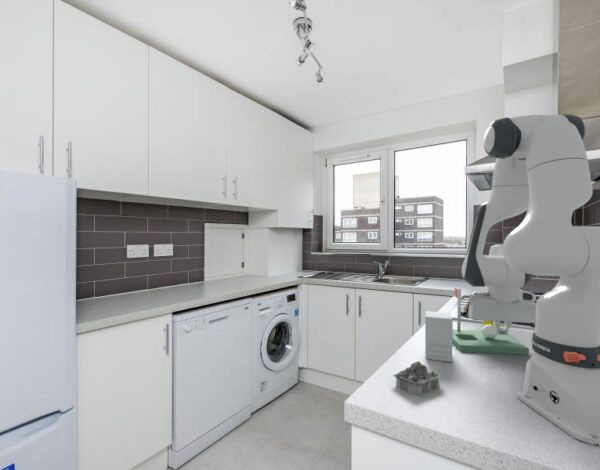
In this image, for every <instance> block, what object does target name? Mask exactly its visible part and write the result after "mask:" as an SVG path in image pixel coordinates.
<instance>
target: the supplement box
mask: <svg viewBox="0 0 600 470" xmlns="http://www.w3.org/2000/svg"><path fill="white" fill-rule="evenodd" d="M424 321H425V322H424V323H425V325H424V326H425V327H424V328H425V334H424V335H425V338H424V339H425V342H424V343H425V345H424V350H425V351H424V352H425V359H427V360H435V361H441V362H449V363H452V362H453V344H452V332H453V330H454V329H453V326H454V325H453V322H454V320H453V317H452V314H451V312H442V311H441V312H440V311H438V312H437V311H431V310H430V311H429V310H426V311H425V319H424Z"/></svg>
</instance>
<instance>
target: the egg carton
mask: <svg viewBox="0 0 600 470" xmlns="http://www.w3.org/2000/svg"><path fill="white" fill-rule="evenodd" d="M418 376H419V377H420V376H423V377H422V378H424V379H422V378H421V379H420V380H419V377H418ZM442 376H443V375H442V374H440V373H439V372H437V373H436V372H434V370H431V371H429V370H428V368H427V365H425V364H423V363H421V361H420V360H418V361H415V362H413V363H412V364H410V366H409V367H406V368H405V369H403V370H400V371H399V372H397V373H396V374H393V377H394V378H395V381H396V382H395V383H396V388H398V389H405V388H406V389H405V390H407V389H408V390H407V393H408V394H409V393H410V394H409V395H416V394H417V396H421V395H422V393H423V391H424V390H425V391H424V392H430V390H432V389H431V388H432V387H431V386H434V388H436V387H437V388H439V387H440V378H439V377H442ZM425 379H426V380H425Z"/></svg>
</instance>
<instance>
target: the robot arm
mask: <svg viewBox="0 0 600 470" xmlns="http://www.w3.org/2000/svg"><path fill="white" fill-rule="evenodd" d="M585 135H586V126H585V123H584V121H583V119H582V118H581V117H580V116H578V115H575V114H569V113H568V114H566V113H561V114H529V115H519V116H514V117H502V118H499V119H496V120H492V122H491V123H490V124H489V125H488V126H487V128H486V130H485V133H484V137H483V146H484V147H483V149H484V150H485V153H486V154H487V155H488V156H489V157H490V158H494V159H496V160H495V163H494V168H493V172H492V173H493V174H492V180H491V181H492V182H491V183H492V184H491V191H490V195H489V197H488V198H487V200H486V202H484V203H481V204H480V205H479V207H478V209H477V212H476V215H475V218H474V222H473V226H472V230H471V235H470V238H469V243H468V248H467V251H466V255H465V257H464V261H463V263H462V267H461V275H462V279H463V280H464V281H465V283H467V284H468V285H469V286H471V287H473V288H474V287H477V288H478V287H481V288H482V287H487V289H486V291H480V292H479V291H474V292H472V293H470V295H469V296H468V298H469V299H468V303H469V306H468V312H467V313H468V314H467V315H468V316H469V318H470V319H472V320H474V321H482V322H483V321H492V323H493V324H494V326H495V328H496V329H497V331H498V334H499V335H508V334H509V330H510V328H511V327H512V325H513V323H531V324H534V332H533V333H532V337H531V348H532V350H533V352H532V355H531V356H530V357H529V359H528V360H527V362H526V365H525V374H524V379H523V389H522V390H520V391H518V393H517V399H518V400H520V401H522V402H523V403H524V404H526V405H527V406H528V407H530V408H531V409H532V410H534V411H535V412H537V413H538V414H540V415H541V416H542V417H544V418H545V419H547V420H548V421H550V422H551V423H552V424H554V425H555V426H557V427H558V428H559V429H561V430H562V431H564V432H566V433H567V434H568V435H570V436H571V437H573V438H575V439H577V440H579V441H581V442H585V443H588V444H592V445H595V444H596V445H597V444H600V226H594V225H593V226H591V225H590V226H586V225H585V226H581V225H580V226H578V225H577V226H574V225H573V224H572V218H573V217H572V216H573V213H574V211H575V210H577V209H579V208H581V207H582V206H584V205H585V204H586V203H588V202H589V201H590V200H591V198H592V196H593V185H592V179H591V178H592V177H591V171H590V167H589V166H590V165H589V161H588V155H587V152H586V147H585V145H584V142H583V141H584V139H585ZM525 212H526V214H525V216H524V218H523V219H522V221H521V223H519V225H518V226H517V227H516V228H514V229H513V230H512V231H510V233H509V234H507V236H506V237H505V239H504V241H503V243H499V244H498V243H495V244H493V245H491V246H490V247H489V251H488V255H487V254H483V252H484V249H485V244H486V241H487V237H488V232H489V231H490V229H491V228H492V226H494V225H495V224H497V223H499V222H502V221H504V220H508V219H511V218H513V217H516V216H519V215H522V214H523V213H525ZM533 275H534V276H543V277H544V276H547V277H551V276H552V277H555V276H556V277H559V279H558V281H557V283H556V285H555V286H554V287H553V288H552V289H551V290H549V291H547V292H545V293H543V294H542V295H540V296H539V297H538V298H537V295H536V294H534V293H533V292H530V291H526V290H525V289H522V288H525V287H526V286H528V285H529V284H530V283H531V282H533ZM536 299H537V300H536ZM501 322H503V323H504V326H503V327H501V326H500V327H499V325H498V324H500V325H501ZM508 336H509V335H508ZM597 446H598V445H597Z"/></svg>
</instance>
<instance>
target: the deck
mask: <svg viewBox="0 0 600 470" xmlns="http://www.w3.org/2000/svg"><path fill="white" fill-rule="evenodd" d="M454 297H455V298H457V323H456V325H457V326H456V329H453V332H452V346H454V347H455V348H456V350H458V351H459V352H463V353H464V352H466V353H468V352H470V353H485V354H500V355H501V354H504V355H520V356H521V355H522V356H523V355H524V356H529V355H530V353H529V351H530V350H529V349H530V348H529V347H527V346H526V345H524V344H523V343H520V342H519V341H518V340H517V339H514V338H513V337H512V336H510V335H499V334H497V336H496V337H495V338H492V339H489V338H487V337H485V336H484V335H483V333H482V330H471V329H461V319H462V317H461V314H462V288H457V287H454Z"/></svg>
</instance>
